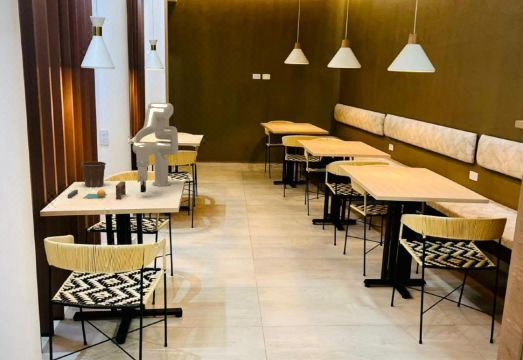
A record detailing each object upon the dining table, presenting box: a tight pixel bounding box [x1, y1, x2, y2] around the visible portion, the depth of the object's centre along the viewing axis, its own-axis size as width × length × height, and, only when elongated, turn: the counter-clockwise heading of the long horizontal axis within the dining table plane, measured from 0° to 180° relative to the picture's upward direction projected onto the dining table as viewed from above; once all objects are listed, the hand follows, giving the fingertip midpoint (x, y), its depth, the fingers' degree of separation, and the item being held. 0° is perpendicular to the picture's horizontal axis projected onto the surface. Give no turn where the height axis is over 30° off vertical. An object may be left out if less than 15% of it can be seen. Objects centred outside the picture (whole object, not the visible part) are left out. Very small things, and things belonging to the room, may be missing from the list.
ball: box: [96, 189, 106, 198], centre depth 310 cm, size 5×5×5 cm
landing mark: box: [83, 193, 108, 200], centre depth 313 cm, size 12×12×1 cm
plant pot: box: [81, 161, 107, 189], centre depth 341 cm, size 16×16×16 cm
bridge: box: [115, 180, 127, 200], centre depth 313 cm, size 3×14×9 cm, turn 3°
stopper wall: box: [67, 189, 79, 199], centre depth 311 cm, size 14×2×2 cm, turn 3°
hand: (143, 192), depth 315 cm, fingers closed
